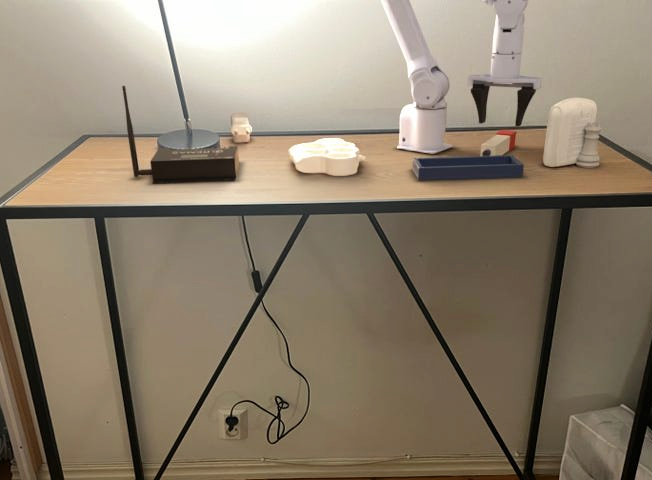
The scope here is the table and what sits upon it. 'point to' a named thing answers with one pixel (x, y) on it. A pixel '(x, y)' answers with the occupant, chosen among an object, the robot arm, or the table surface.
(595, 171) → the table surface
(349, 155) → the white lobed tray
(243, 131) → the power adapter
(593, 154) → the rook chess piece
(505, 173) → the tray
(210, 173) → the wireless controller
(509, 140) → the marker
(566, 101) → the photo printer
